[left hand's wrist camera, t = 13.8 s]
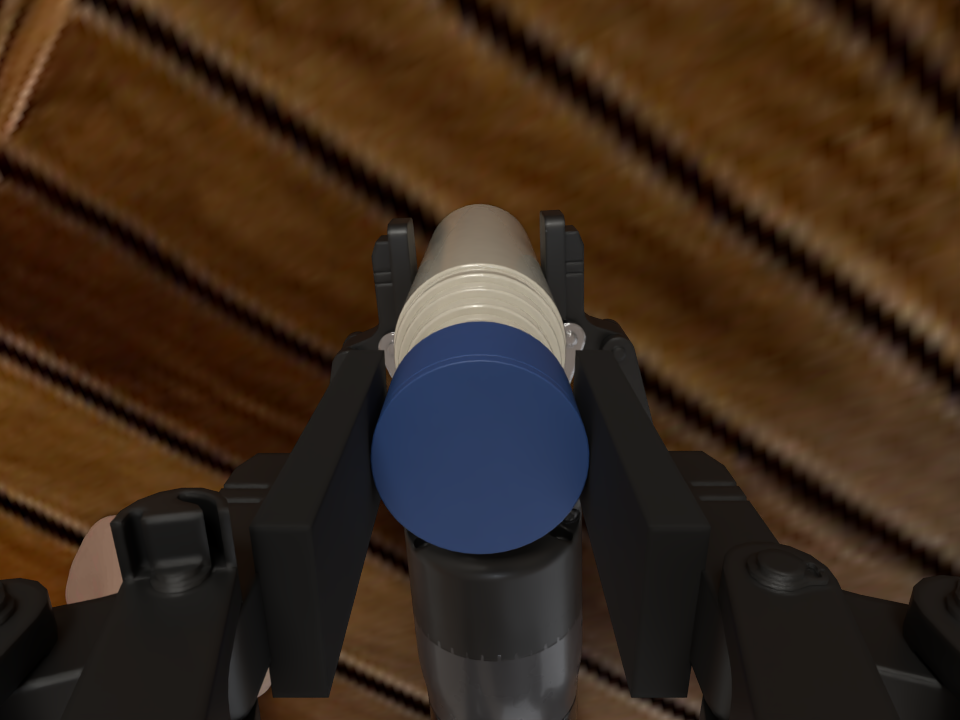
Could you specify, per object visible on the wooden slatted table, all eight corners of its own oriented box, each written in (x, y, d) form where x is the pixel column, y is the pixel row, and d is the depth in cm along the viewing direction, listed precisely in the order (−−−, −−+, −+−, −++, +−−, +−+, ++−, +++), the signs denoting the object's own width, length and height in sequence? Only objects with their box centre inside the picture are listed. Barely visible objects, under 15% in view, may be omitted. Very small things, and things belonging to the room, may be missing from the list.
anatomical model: (3, 554, 31) (247, 572, 32) (54, 508, 35) (271, 524, 35) (42, 758, 36) (255, 771, 36) (84, 697, 39) (276, 710, 40)
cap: (494, 520, 15) (496, 589, 13) (350, 422, 15) (327, 478, 12) (611, 395, 14) (635, 447, 12) (463, 282, 13) (460, 314, 11)
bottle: (488, 326, 32) (498, 597, 14) (407, 265, 31) (305, 471, 13) (552, 248, 30) (658, 434, 12) (471, 181, 29) (458, 279, 11)
